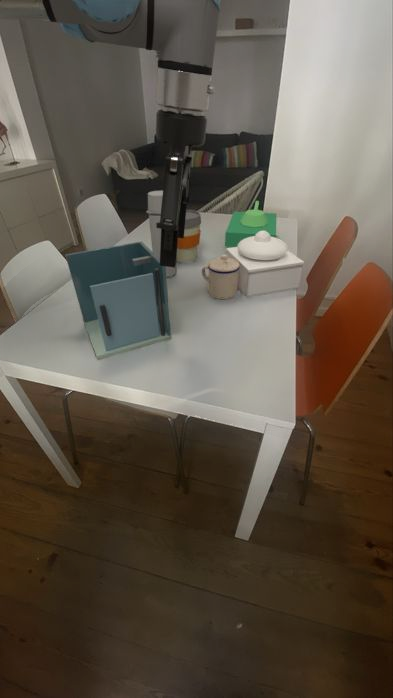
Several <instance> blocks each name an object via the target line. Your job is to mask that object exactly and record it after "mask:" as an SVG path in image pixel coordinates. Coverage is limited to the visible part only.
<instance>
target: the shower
mask: <svg viewBox="0 0 393 698" xmlns="http://www.w3.org/2000/svg"><path fill="white" fill-rule="evenodd" d="M64 255H65V258H66V259H65V260H66V262H67V266H68V269H69V274H70V277H71V280H72V284H73V288H74V291H75V296H76V298H77V301H78V306H79V309H80V312H81V316H82V320H83V323H84V326H85V329H86V332H87V334H88V338H89V340H90V342H91V346H92V348H93V351H94V354H95V357H96V359H97V360H103V359H105V358H109V357H112V356H115V355H120V354H122V353H126V352H130V351H133V350H136V349H140V348H144V347H147V346H151V345H154V344H156V343H160V342H164V341H167V340H171V339H172V329H171V317H170V316H171V315H170V306H169V304H170V303H169V292H168V282H167V281H168V280H167V279H168V277H167V278H166V266H160V259H159V258H158V257H157V256H156V255H155V254H154V253H153V251H152V250H151V249H150V248H149V246H147V245H146V244H145V243H144V242H143V241H136V242H130V243H124V244H119V245H118V244H117V245H112V246H107V247H101V248H96V249H89V250H83V251H78V252H72V253H67V254H66V253H65V254H64ZM149 273H152V274H153V280H154V289H155V298H156V307H157V316H158V326H159V335H160V336H156V337H153V338H149V339H146V340H142V341H139V342H135V343H132V344H128V345H124V346H121V347H117V348H114V349H110V350H107V351H106V349H105V345H104V341H103V337H102V333H101V329H100V325H99V321H98V317H97V313H96V309H95V305H94V301H93V297H92V293H91V289H90V286H92V285H97V284H102V283H106V282H111V281H116V280H121V279H125V278H130V277H135V276H140V275H144V274H149Z"/></svg>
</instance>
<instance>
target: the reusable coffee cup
mask: <svg viewBox="0 0 393 698" xmlns="http://www.w3.org/2000/svg"><path fill="white" fill-rule="evenodd" d="M201 217H202V216H201V213H200V212H199V211H196V210H193V209H186V219H185V231H184V238H178V244H177V257H176V262H177V261H178V262H190V261H194V260H195V259H197V256H198V246H199V245H200V239H201V224H202V218H201Z"/></svg>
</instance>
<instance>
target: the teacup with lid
mask: <svg viewBox="0 0 393 698" xmlns="http://www.w3.org/2000/svg"><path fill="white" fill-rule="evenodd" d="M239 268H240V265H239V263H238V262H237V261H236V260H234V259H230V258H228V256H227V255H226V254H225V253H223V254H221V255H220V257H218V258H214V259H212V260H210V261H209V262H208V263H207V264H206V265H204V266H202V267H201V276H202V278H203V280H204V281H205V282H207V283H208V294H209V295H210V296H211V297H212V298H215V299H219V300H229V299H232V298H235V297H236V295H238V290H239V289H238V274H239ZM206 269H208V276H207V273H206Z"/></svg>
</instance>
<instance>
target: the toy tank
mask: <svg viewBox="0 0 393 698" xmlns="http://www.w3.org/2000/svg"><path fill="white" fill-rule="evenodd" d="M259 204H260V201H259V200H255V204H254V208H253V209H247V210H246V211H233V213H232V216H231V217H230V220H229V223H228V225H227V228H226V231H225V235H224V236H225V237H224V238H225V239H224V247H226V248H232V247H237V246H238V243H239V242H240V241H241V240H243V239H245V238H248V237H252V236H255V235H256V234H257V233H258V232H259V231H266V232H268V233H269V234H270V236H271V237H275V238H277V213H274V212H264V211H263V210H261V209H259V207H260V206H259ZM226 248H225V249H226Z"/></svg>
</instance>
